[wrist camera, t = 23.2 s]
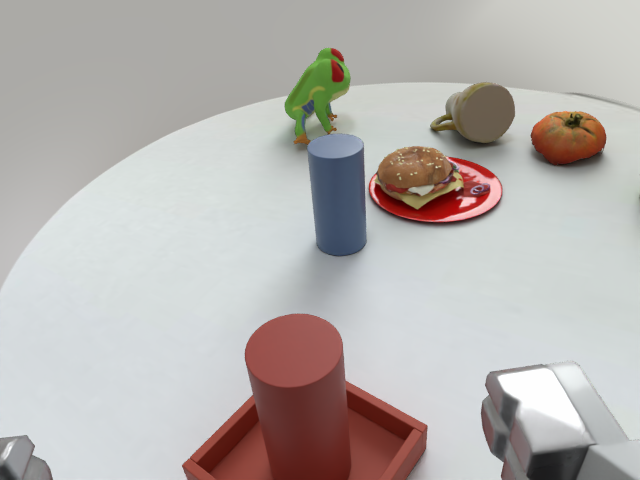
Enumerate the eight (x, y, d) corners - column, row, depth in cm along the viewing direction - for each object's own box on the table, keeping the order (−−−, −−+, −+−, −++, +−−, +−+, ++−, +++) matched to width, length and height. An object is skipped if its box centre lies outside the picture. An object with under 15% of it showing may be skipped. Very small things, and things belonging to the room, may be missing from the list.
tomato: (518, 149, 59) (545, 90, 59) (519, 165, 66) (544, 111, 65) (591, 174, 56) (621, 111, 56) (585, 187, 63) (612, 131, 62)
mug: (474, 112, 73) (512, 57, 64) (488, 169, 68) (531, 118, 60) (424, 106, 71) (456, 48, 63) (434, 164, 67) (471, 110, 58)
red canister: (277, 512, 29) (250, 398, 23) (266, 438, 33) (240, 324, 27) (361, 490, 30) (354, 374, 24) (340, 420, 34) (329, 305, 28)
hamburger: (428, 242, 49) (431, 186, 46) (344, 184, 59) (341, 135, 56) (530, 193, 55) (540, 140, 51) (437, 148, 65) (440, 101, 61)
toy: (353, 149, 66) (350, 70, 60) (283, 153, 67) (273, 74, 61) (351, 106, 78) (348, 36, 72) (291, 109, 78) (284, 40, 73)
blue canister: (347, 262, 48) (341, 163, 42) (306, 245, 50) (295, 150, 44) (376, 235, 51) (374, 140, 45) (335, 221, 53) (329, 129, 47)
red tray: (326, 601, 26) (323, 581, 25) (190, 486, 31) (181, 465, 30) (426, 448, 32) (428, 425, 31) (298, 374, 38) (295, 352, 36)
